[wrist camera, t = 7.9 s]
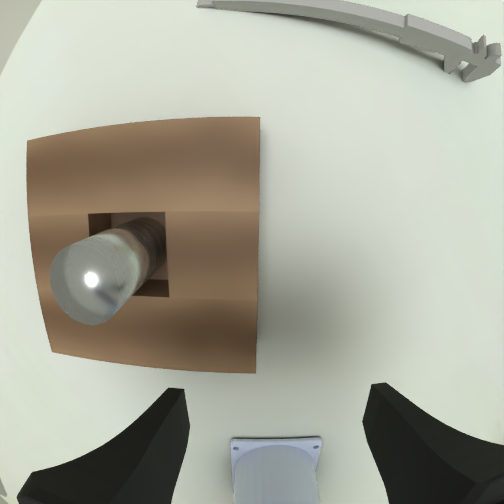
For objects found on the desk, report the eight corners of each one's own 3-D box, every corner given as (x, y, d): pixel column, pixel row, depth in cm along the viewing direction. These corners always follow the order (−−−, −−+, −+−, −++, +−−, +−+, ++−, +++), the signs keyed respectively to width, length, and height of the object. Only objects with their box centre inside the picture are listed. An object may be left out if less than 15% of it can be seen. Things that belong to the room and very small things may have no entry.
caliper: (465, 72, 17) (514, 53, 11) (464, 84, 17) (516, 66, 11) (200, -2, 16) (183, -53, 10) (196, 10, 16) (178, -40, 10)
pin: (174, 268, 19) (127, 325, 12) (125, 272, 19) (61, 324, 12) (166, 214, 18) (109, 239, 11) (117, 220, 19) (42, 248, 11)
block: (255, 340, 21) (255, 373, 18) (77, 328, 22) (52, 351, 18) (259, 129, 18) (260, 116, 14) (60, 144, 18) (27, 140, 14)
